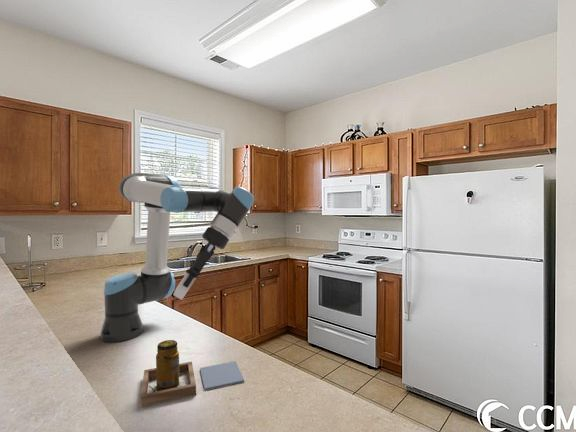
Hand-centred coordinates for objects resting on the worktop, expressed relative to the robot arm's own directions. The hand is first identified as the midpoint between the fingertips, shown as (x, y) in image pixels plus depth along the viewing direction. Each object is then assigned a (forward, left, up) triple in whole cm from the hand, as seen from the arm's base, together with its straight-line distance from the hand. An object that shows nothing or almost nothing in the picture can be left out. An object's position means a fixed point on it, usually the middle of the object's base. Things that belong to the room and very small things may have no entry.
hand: (178, 294), depth 90 cm
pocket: (+2, -3, -25) cm, 25 cm away
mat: (+2, +12, -25) cm, 28 cm away
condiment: (+2, -3, -25) cm, 26 cm away
